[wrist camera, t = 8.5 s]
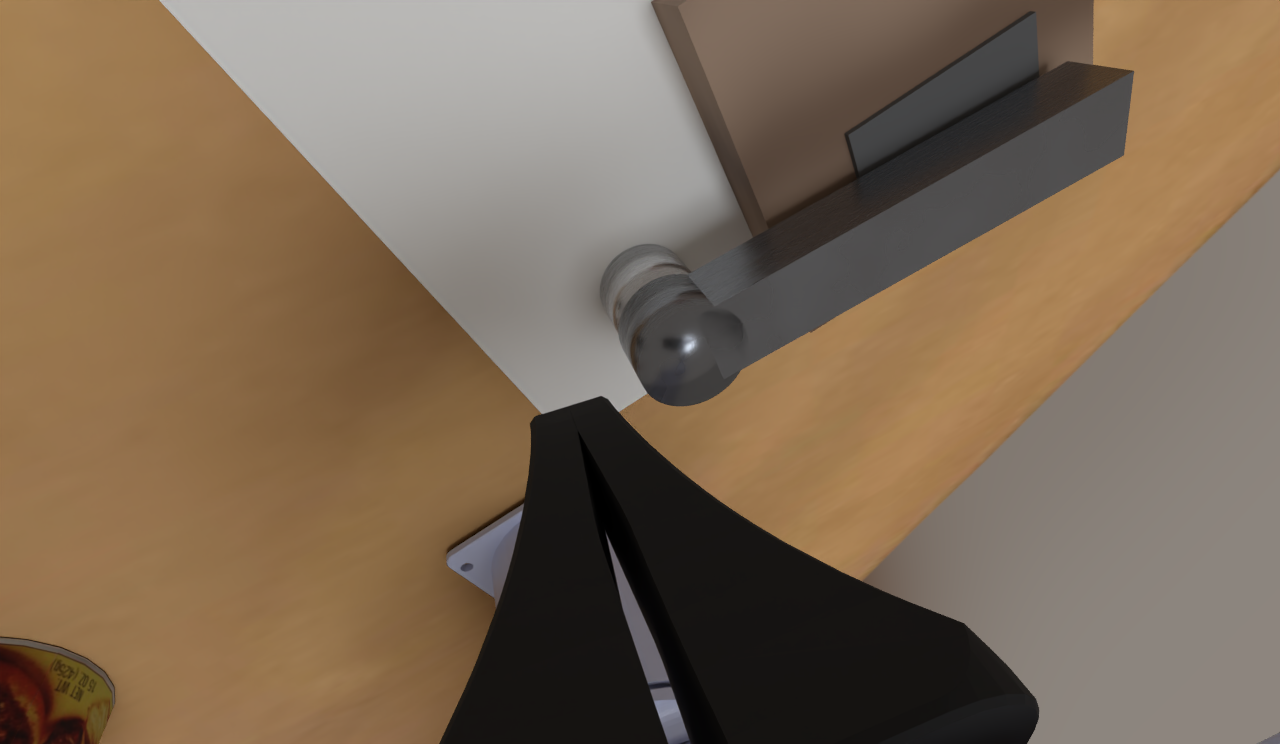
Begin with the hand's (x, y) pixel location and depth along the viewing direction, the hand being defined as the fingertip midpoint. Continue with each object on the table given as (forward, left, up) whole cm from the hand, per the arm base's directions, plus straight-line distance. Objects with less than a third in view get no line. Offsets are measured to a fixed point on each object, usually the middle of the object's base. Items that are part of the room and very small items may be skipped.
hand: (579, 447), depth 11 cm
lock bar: (-4, -9, -6) cm, 11 cm away
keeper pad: (-3, -13, -7) cm, 15 cm away
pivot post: (-3, -3, -10) cm, 11 cm away
